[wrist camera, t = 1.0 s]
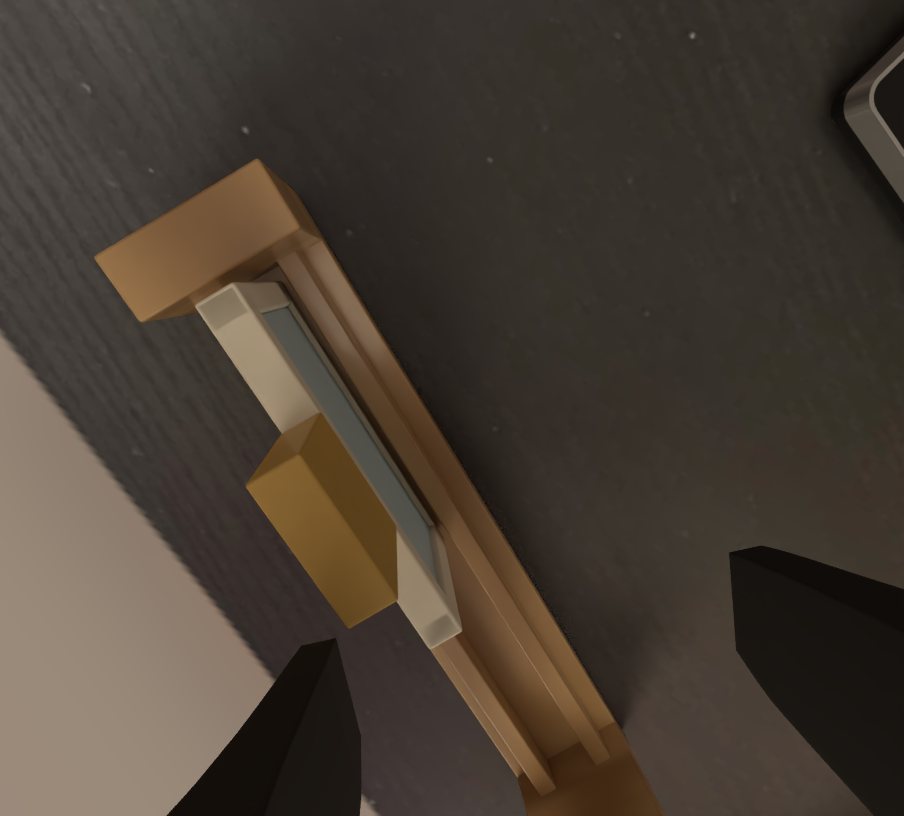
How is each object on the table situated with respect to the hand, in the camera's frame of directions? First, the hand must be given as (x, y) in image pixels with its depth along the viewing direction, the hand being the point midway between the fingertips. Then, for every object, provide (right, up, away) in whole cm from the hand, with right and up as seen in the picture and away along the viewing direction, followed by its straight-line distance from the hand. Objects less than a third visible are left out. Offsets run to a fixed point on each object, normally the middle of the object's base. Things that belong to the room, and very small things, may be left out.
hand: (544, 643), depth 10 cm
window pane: (-5, +4, +7) cm, 9 cm away
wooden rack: (-2, 0, +9) cm, 9 cm away
